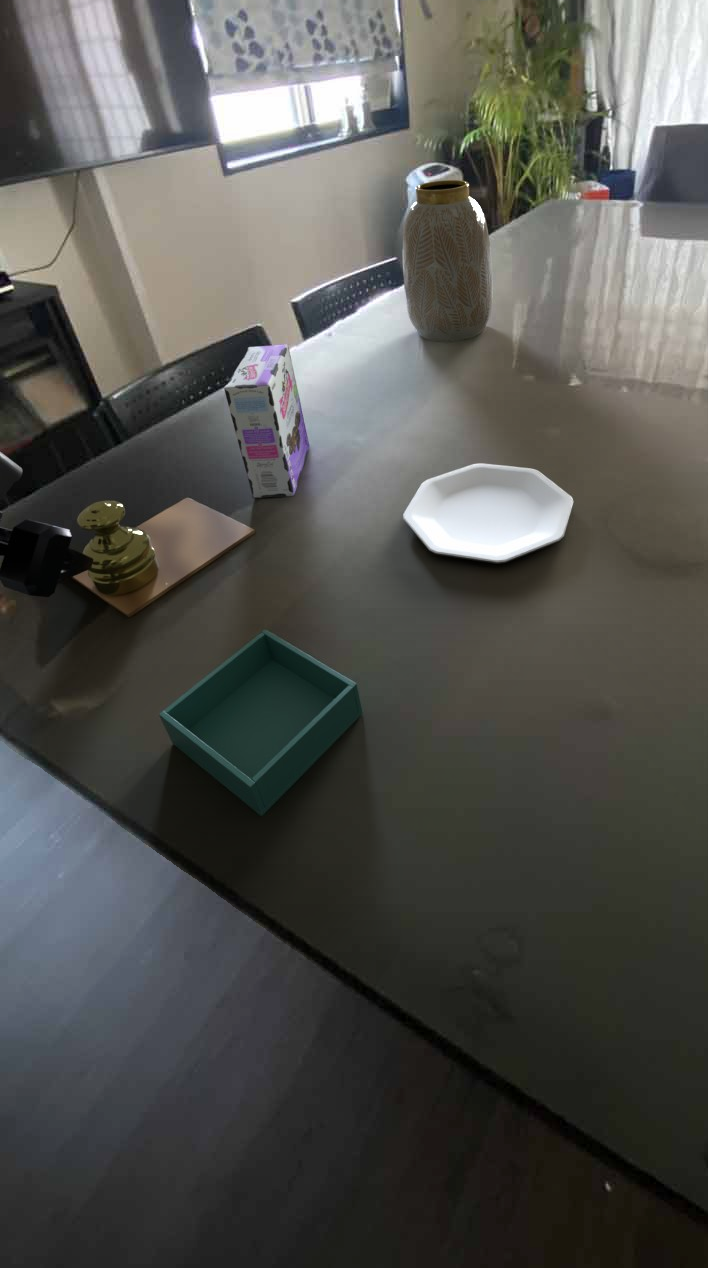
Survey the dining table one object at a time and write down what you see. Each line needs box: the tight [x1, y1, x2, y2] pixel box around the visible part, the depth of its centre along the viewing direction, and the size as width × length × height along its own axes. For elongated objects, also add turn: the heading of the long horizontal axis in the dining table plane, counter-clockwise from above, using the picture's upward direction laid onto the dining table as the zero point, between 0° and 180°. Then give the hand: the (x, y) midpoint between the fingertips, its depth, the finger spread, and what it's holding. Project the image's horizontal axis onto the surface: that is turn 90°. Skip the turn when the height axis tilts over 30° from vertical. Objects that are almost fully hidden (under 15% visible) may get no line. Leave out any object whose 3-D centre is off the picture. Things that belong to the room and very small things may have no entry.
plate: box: [402, 462, 574, 565], centre depth 84 cm, size 20×20×2 cm
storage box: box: [158, 629, 364, 817], centre depth 60 cm, size 12×12×4 cm
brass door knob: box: [76, 500, 159, 595], centre depth 77 cm, size 7×7×10 cm
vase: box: [402, 179, 494, 342], centre depth 130 cm, size 17×17×27 cm
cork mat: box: [70, 496, 256, 618], centre depth 83 cm, size 18×14×1 cm
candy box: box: [224, 343, 310, 499], centre depth 93 cm, size 14×6×16 cm, turn 179°
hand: (59, 554), depth 71 cm, fingers open, 9 cm apart
